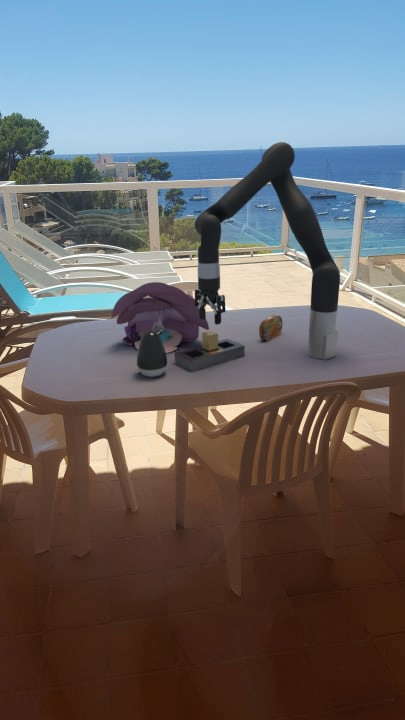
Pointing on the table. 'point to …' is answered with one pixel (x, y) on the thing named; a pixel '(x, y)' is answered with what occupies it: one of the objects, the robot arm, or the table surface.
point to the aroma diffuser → (151, 354)
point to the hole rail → (209, 355)
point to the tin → (270, 328)
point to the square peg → (209, 341)
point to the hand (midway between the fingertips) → (210, 321)
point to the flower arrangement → (159, 315)
